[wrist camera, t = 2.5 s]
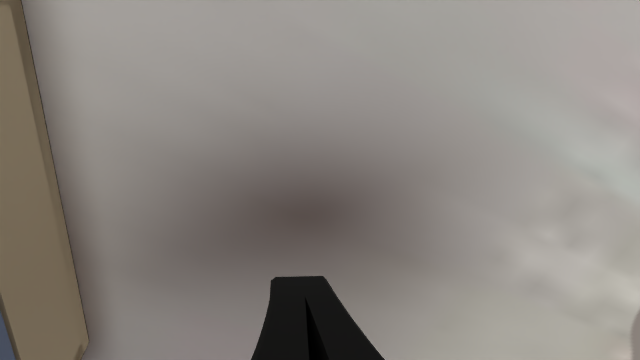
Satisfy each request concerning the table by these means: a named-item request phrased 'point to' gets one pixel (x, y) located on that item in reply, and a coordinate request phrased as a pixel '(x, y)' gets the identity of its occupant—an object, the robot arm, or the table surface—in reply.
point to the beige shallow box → (32, 214)
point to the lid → (5, 343)
